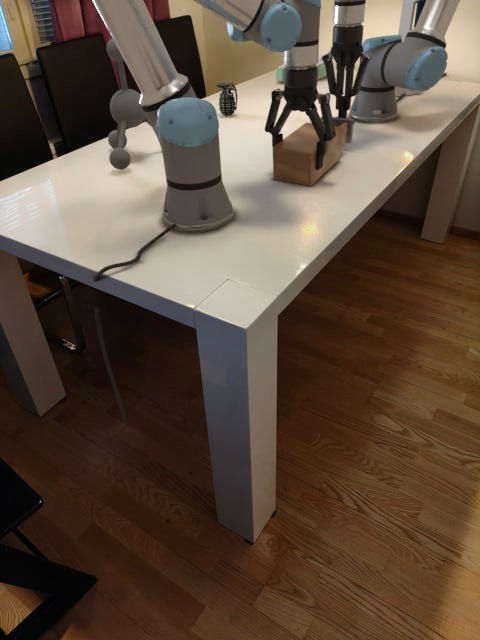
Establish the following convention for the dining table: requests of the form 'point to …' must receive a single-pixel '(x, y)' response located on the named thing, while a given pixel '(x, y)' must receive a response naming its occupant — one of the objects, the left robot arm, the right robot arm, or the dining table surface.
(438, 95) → the dining table surface
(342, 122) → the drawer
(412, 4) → the electronic device
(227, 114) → the grenade
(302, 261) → the dining table surface
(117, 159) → the molecular model
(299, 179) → the brown wooden box
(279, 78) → the decorative block
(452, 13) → the right robot arm
